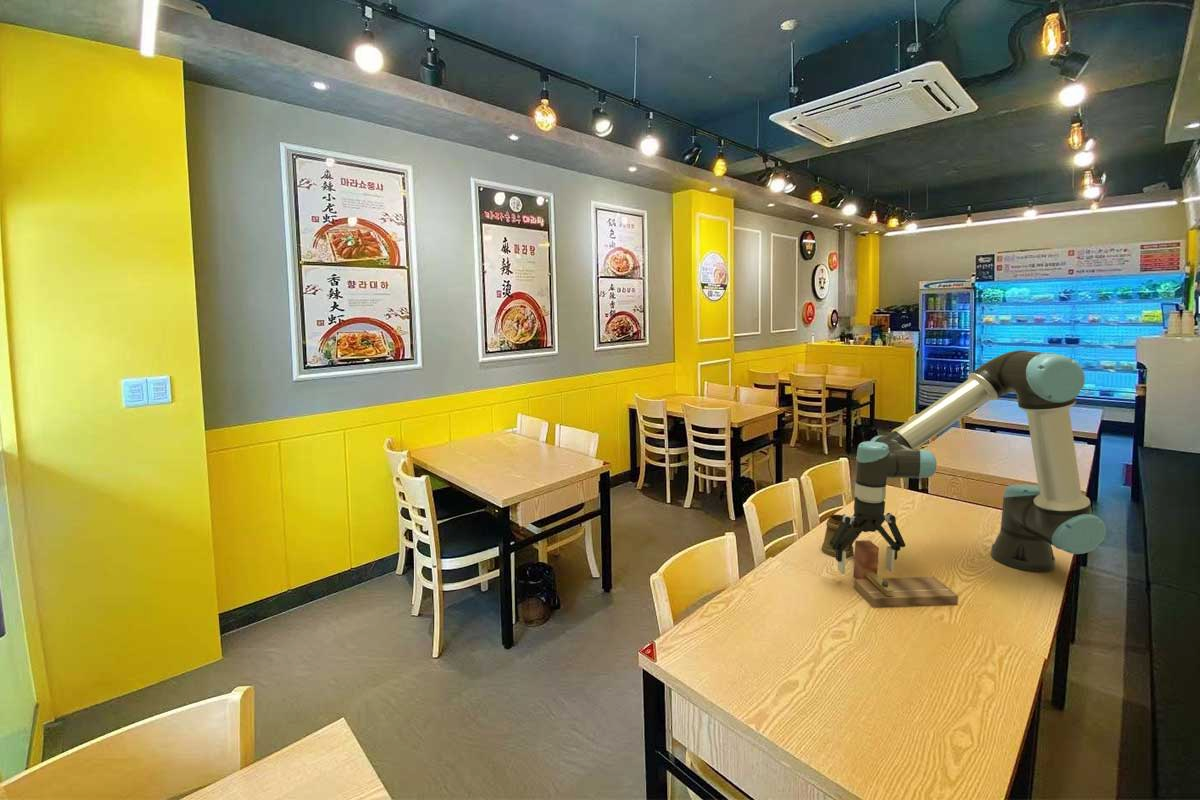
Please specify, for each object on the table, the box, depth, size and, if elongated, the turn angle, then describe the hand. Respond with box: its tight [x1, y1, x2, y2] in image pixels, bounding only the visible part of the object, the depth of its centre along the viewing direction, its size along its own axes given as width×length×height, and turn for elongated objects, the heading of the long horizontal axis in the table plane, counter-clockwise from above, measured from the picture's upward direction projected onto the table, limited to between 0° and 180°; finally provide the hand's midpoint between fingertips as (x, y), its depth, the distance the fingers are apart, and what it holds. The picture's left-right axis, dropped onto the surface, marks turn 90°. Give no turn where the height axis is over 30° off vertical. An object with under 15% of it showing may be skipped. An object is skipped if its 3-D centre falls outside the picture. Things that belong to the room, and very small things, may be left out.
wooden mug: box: [821, 513, 861, 558], centre depth 167 cm, size 9×14×18 cm, turn 37°
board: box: [853, 576, 959, 608], centre depth 143 cm, size 22×10×3 cm, turn 91°
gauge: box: [852, 539, 894, 596], centre depth 145 cm, size 4×15×11 cm, turn 1°
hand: (865, 571), depth 150 cm, fingers open, 13 cm apart
